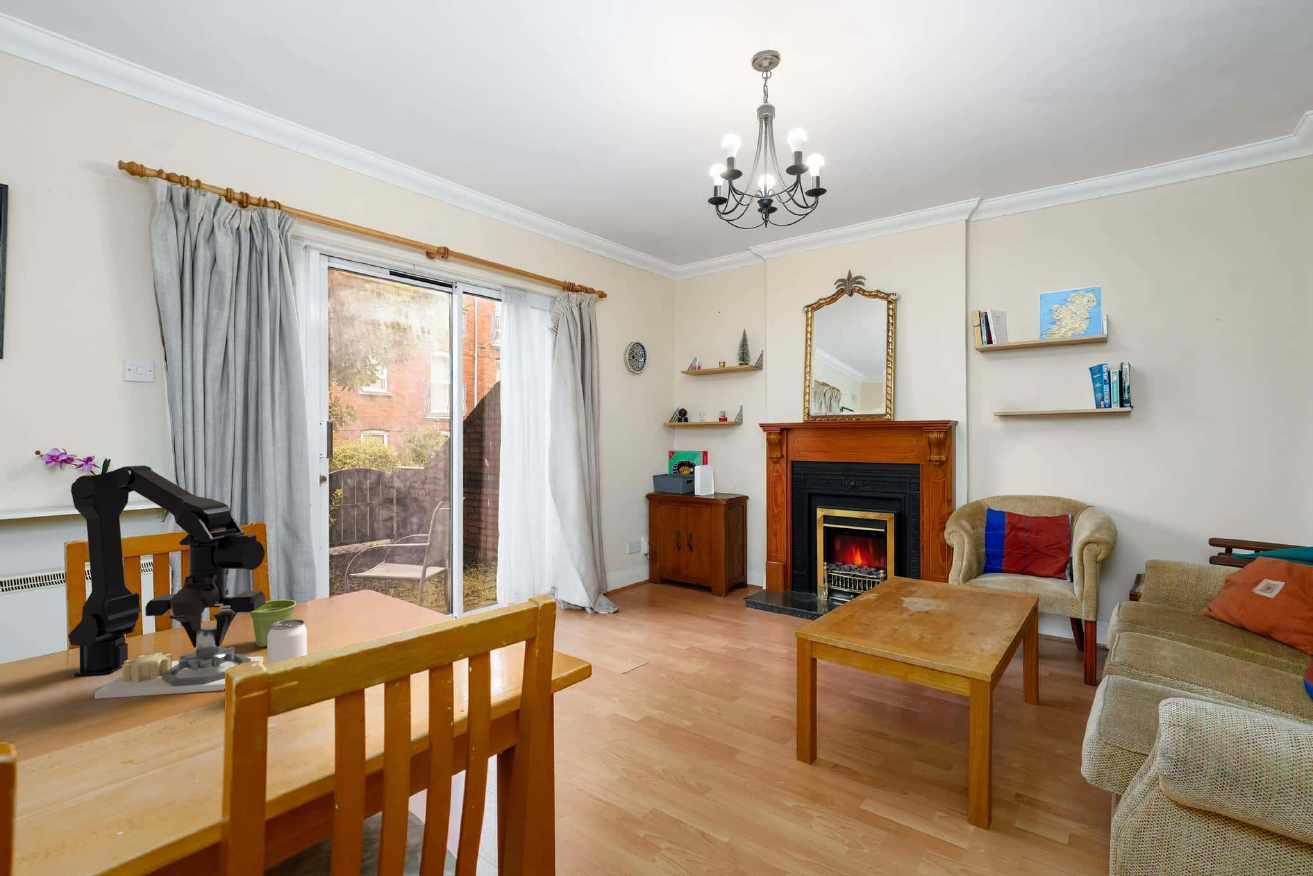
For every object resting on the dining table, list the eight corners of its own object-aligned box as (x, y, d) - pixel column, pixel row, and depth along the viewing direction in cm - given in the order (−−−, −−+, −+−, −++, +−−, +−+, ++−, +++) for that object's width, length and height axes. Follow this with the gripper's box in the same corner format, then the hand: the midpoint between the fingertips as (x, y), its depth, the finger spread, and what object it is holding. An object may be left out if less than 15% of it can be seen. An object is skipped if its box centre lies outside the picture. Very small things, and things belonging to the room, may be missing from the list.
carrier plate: (94, 698, 110) (94, 675, 110) (144, 668, 124) (144, 648, 124) (229, 690, 114) (229, 667, 114) (263, 661, 128) (263, 642, 128)
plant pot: (304, 641, 141) (304, 603, 140) (260, 653, 133) (260, 614, 132) (283, 633, 146) (283, 597, 145) (239, 645, 138) (239, 607, 137)
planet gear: (167, 672, 114) (167, 637, 114) (194, 654, 123) (194, 622, 123) (220, 669, 116) (220, 635, 116) (243, 652, 125) (243, 620, 125)
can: (288, 695, 112) (288, 630, 112) (258, 691, 113) (258, 628, 113) (314, 681, 118) (314, 619, 118) (286, 678, 120) (286, 617, 120)
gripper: (125, 579, 110) (125, 665, 110) (239, 575, 113) (240, 658, 113) (163, 565, 121) (163, 643, 121) (266, 562, 124) (266, 638, 124)
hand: (207, 646), depth 120 cm, fingers closed on planet gear, 4 cm apart
